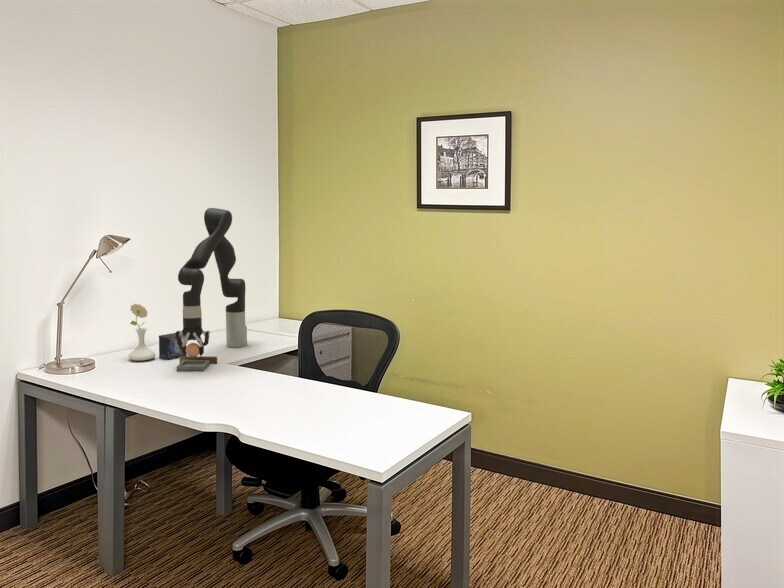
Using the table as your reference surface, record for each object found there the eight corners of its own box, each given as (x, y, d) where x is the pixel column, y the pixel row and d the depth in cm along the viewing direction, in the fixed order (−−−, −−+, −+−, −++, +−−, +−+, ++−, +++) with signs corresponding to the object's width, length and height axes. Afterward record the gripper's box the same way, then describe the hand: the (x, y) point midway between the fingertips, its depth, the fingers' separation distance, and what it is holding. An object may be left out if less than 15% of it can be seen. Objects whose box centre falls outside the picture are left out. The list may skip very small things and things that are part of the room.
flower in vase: (161, 359, 287) (159, 303, 283) (138, 363, 278) (135, 306, 274) (144, 354, 294) (142, 301, 291) (121, 359, 285) (118, 304, 282)
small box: (167, 360, 284) (166, 337, 283) (158, 358, 288) (157, 335, 287) (187, 356, 293) (186, 333, 291) (178, 354, 297) (178, 332, 295)
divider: (180, 363, 280) (180, 356, 279) (217, 363, 280) (217, 356, 280) (179, 363, 279) (179, 357, 278) (216, 363, 279) (216, 357, 279)
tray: (184, 364, 277) (183, 360, 276) (209, 364, 277) (209, 360, 277) (176, 371, 266) (176, 366, 266) (203, 371, 266) (203, 366, 266)
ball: (193, 354, 275) (192, 341, 274) (203, 356, 272) (203, 342, 271) (182, 357, 269) (182, 343, 269) (193, 359, 267) (192, 345, 266)
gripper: (172, 317, 264) (173, 357, 266) (207, 317, 265) (208, 357, 267) (177, 314, 272) (178, 353, 274) (211, 314, 272) (212, 353, 275)
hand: (193, 355), depth 270 cm, fingers closed on ball, 6 cm apart
